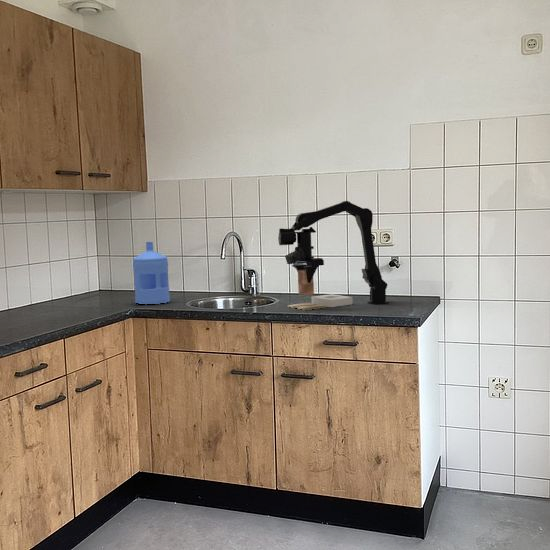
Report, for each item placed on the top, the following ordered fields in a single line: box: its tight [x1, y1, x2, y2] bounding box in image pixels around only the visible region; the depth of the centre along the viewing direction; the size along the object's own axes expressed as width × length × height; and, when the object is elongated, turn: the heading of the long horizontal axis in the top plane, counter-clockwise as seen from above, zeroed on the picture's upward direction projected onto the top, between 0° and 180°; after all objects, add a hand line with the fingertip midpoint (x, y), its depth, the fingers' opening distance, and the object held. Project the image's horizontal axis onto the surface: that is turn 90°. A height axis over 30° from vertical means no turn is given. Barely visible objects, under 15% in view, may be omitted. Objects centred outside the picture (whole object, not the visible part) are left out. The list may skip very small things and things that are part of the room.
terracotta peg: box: [297, 270, 315, 296], centre depth 271 cm, size 4×4×10 cm
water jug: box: [132, 241, 171, 305], centre depth 302 cm, size 16×16×28 cm
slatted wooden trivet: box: [287, 302, 327, 311], centre depth 272 cm, size 13×10×1 cm
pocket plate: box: [310, 293, 354, 308], centre depth 278 cm, size 14×11×3 cm
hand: (305, 282), depth 271 cm, fingers closed on terracotta peg, 4 cm apart
